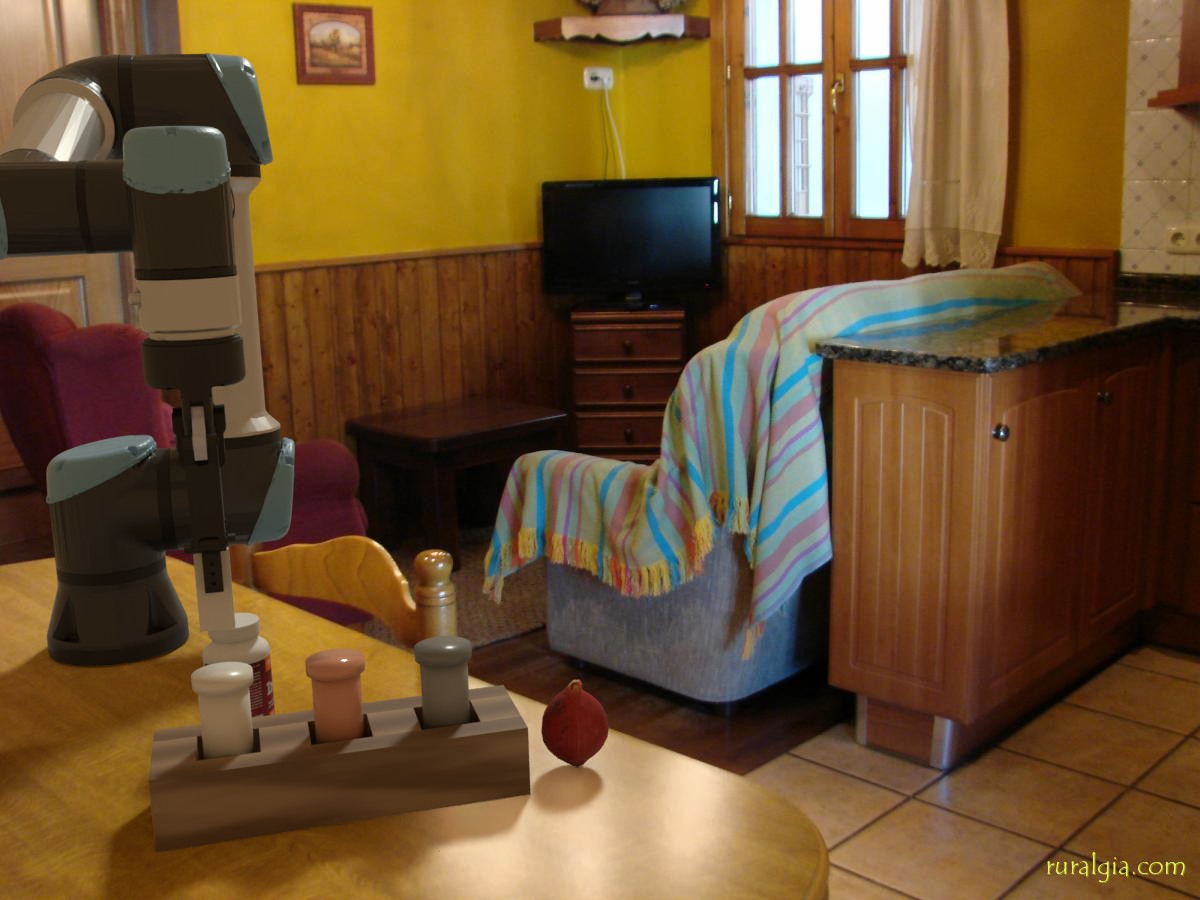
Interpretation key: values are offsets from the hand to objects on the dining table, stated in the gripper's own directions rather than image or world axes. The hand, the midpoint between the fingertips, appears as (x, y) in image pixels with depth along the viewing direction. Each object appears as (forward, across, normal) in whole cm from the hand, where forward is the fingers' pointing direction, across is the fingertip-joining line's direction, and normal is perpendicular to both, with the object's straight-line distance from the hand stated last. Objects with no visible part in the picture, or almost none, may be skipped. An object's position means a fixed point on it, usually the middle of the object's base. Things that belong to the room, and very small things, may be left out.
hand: (217, 626), depth 106 cm
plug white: (+12, 0, 0) cm, 12 cm away
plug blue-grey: (+12, 0, +18) cm, 22 cm away
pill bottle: (+16, -17, +1) cm, 24 cm away
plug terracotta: (+12, 0, +9) cm, 15 cm away
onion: (+16, +1, +29) cm, 33 cm away
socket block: (+16, 0, +9) cm, 18 cm away
